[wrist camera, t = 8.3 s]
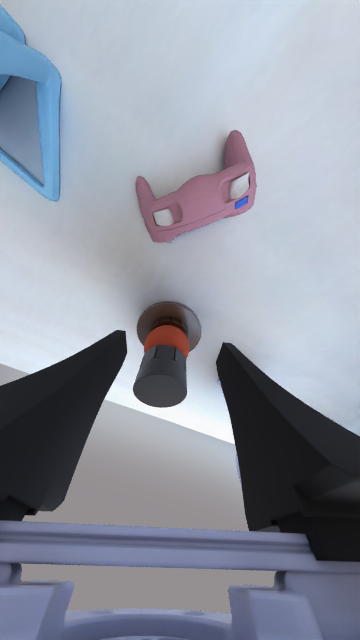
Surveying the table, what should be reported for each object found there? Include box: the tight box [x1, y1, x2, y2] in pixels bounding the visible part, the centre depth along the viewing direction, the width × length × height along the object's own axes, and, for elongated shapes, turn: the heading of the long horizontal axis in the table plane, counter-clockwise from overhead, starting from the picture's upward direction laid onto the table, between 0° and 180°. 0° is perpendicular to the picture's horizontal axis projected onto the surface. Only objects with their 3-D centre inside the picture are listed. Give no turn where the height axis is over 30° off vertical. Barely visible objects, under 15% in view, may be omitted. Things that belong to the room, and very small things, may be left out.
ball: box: [144, 325, 189, 359], centre depth 18 cm, size 6×6×6 cm
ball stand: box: [137, 302, 201, 352], centre depth 21 cm, size 10×10×2 cm
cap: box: [133, 344, 187, 407], centre depth 14 cm, size 5×5×4 cm
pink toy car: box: [136, 130, 256, 243], centre depth 12 cm, size 10×5×7 cm, turn 108°
